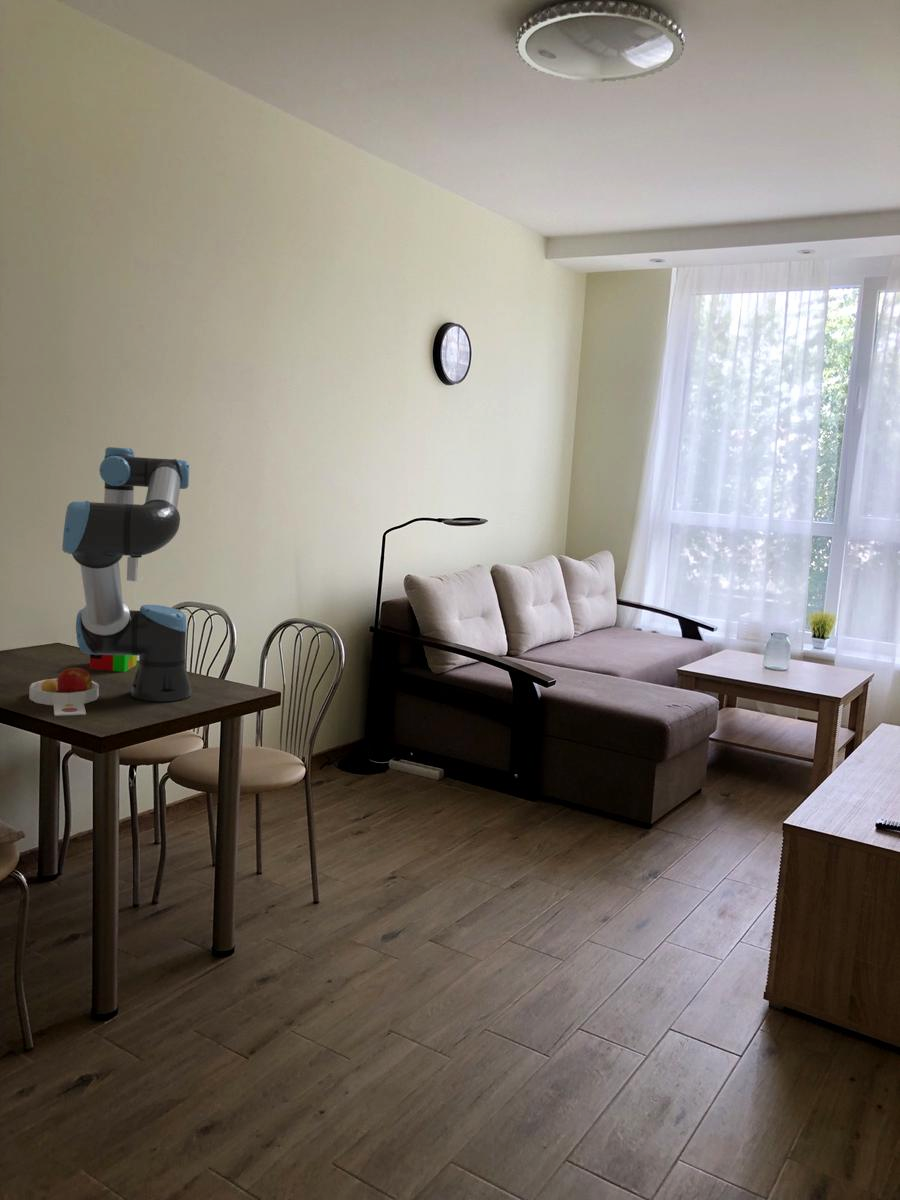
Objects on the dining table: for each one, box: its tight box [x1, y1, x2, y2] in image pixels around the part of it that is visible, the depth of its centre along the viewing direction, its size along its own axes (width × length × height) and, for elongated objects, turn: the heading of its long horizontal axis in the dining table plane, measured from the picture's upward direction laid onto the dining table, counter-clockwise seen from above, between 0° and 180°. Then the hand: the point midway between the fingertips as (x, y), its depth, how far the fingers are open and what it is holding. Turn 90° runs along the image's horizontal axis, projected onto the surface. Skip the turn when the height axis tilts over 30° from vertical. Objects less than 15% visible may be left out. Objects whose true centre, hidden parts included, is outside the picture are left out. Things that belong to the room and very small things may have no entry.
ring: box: [28, 677, 100, 706], centre depth 254 cm, size 16×16×3 cm
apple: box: [57, 666, 93, 693], centre depth 253 cm, size 8×8×8 cm
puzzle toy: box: [89, 654, 138, 673], centre depth 290 cm, size 10×10×10 cm
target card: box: [53, 702, 87, 717], centre depth 244 cm, size 10×7×1 cm
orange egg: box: [41, 678, 58, 693], centre depth 255 cm, size 4×4×4 cm
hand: (116, 583), depth 273 cm, fingers open, 13 cm apart
